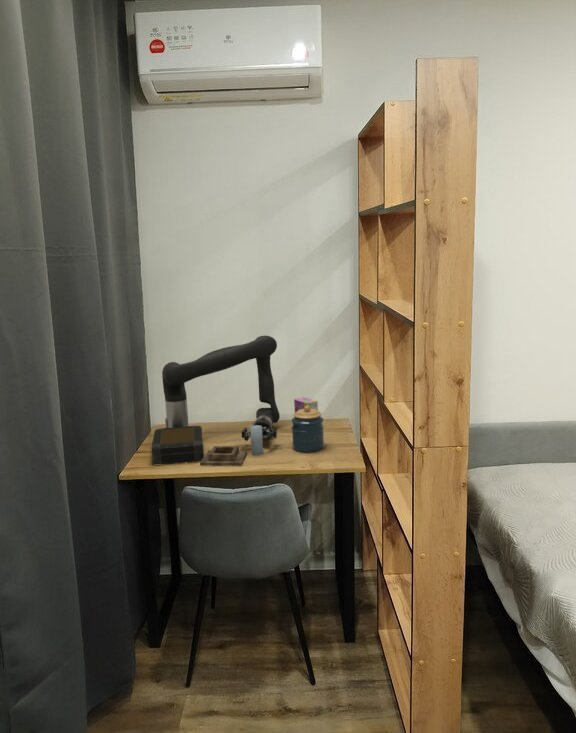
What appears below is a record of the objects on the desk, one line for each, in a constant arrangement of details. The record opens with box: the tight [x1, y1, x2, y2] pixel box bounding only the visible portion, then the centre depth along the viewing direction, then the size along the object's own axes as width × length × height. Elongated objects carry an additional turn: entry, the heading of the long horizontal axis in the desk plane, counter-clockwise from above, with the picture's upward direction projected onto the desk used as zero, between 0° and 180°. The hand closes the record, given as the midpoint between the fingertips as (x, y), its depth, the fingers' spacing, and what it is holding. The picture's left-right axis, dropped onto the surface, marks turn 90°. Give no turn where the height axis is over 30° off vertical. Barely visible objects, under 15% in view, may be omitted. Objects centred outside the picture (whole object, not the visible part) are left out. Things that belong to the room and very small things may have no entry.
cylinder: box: [249, 424, 264, 456], centre depth 243 cm, size 5×5×11 cm
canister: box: [291, 406, 325, 453], centre depth 247 cm, size 13×13×18 cm
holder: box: [199, 445, 248, 467], centre depth 238 cm, size 16×14×4 cm
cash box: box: [150, 425, 205, 465], centre depth 247 cm, size 25×20×8 cm
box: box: [293, 396, 319, 413], centre depth 278 cm, size 10×6×12 cm, turn 37°
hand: (257, 438), depth 243 cm, fingers open, 8 cm apart
